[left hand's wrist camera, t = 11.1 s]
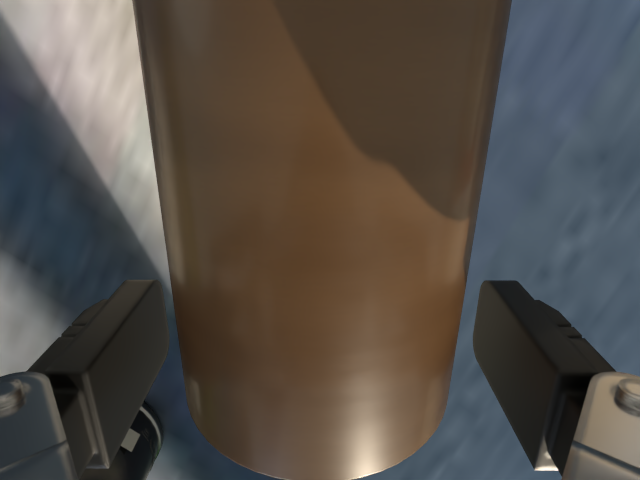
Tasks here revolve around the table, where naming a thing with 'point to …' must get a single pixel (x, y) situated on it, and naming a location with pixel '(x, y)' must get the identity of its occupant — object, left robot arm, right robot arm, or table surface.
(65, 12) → the table surface
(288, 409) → the rod
